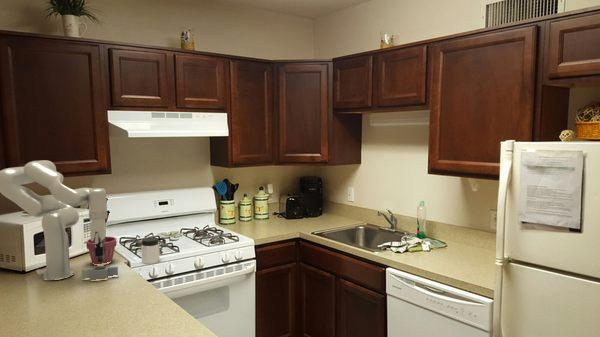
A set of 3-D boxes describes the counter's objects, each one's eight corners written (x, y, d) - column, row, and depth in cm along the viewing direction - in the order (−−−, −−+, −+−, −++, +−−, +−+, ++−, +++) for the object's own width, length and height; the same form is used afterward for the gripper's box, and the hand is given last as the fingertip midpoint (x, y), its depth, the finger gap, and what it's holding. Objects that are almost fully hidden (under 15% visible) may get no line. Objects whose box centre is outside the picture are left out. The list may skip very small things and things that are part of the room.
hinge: (80, 282, 188) (80, 271, 188) (84, 277, 195) (84, 267, 195) (116, 279, 192) (116, 269, 192) (119, 274, 199) (118, 264, 199)
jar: (138, 262, 219) (137, 240, 218) (151, 258, 226) (150, 236, 225) (150, 265, 214) (149, 242, 213) (162, 260, 221) (162, 238, 221)
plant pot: (115, 266, 212) (114, 241, 211) (84, 269, 208) (83, 243, 207) (118, 258, 225) (118, 235, 225) (90, 261, 222) (89, 237, 221)
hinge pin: (93, 263, 190) (92, 241, 189) (96, 260, 195) (94, 238, 194) (105, 262, 191) (104, 240, 191) (107, 259, 196) (106, 237, 195)
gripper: (93, 212, 198) (94, 250, 200) (85, 219, 182) (87, 260, 184) (110, 211, 200) (111, 249, 202) (103, 218, 184) (105, 258, 186)
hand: (100, 254), depth 193 cm, fingers closed on hinge pin, 3 cm apart
